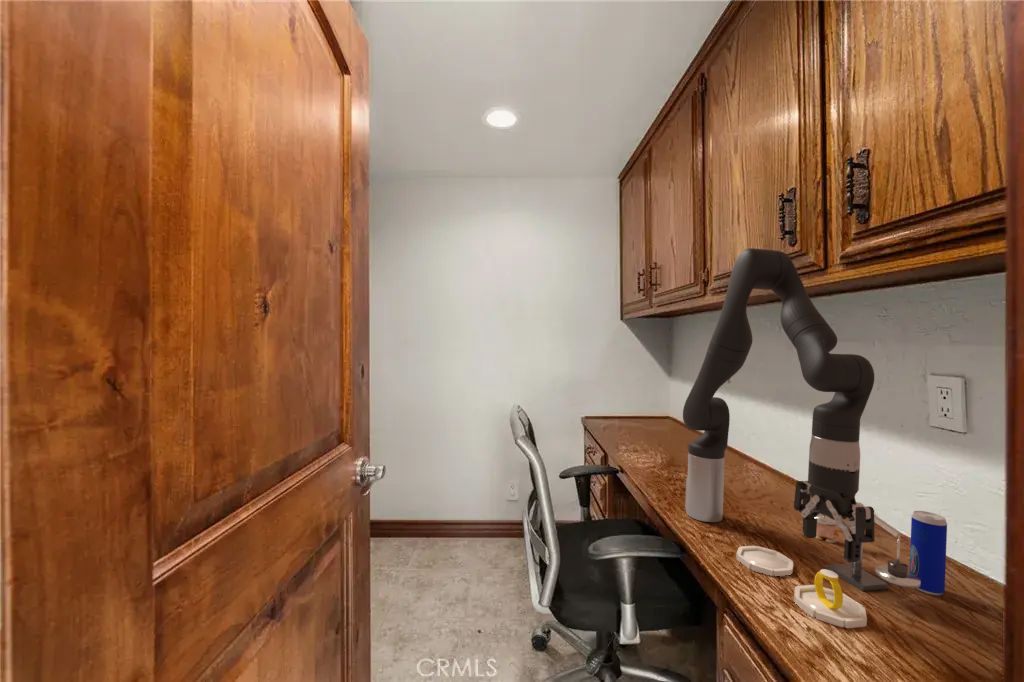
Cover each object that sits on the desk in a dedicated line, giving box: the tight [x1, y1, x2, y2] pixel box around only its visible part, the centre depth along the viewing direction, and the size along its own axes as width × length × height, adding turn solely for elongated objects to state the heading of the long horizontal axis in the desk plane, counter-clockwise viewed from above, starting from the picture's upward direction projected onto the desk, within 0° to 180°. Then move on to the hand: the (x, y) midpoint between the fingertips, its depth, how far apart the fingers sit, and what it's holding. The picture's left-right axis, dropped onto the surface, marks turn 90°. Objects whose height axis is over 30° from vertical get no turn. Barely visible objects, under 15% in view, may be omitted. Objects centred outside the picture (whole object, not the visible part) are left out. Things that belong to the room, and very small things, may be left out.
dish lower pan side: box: [793, 584, 868, 629], centre depth 79 cm, size 11×11×1 cm
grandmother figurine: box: [814, 523, 837, 544], centre depth 108 cm, size 8×4×13 cm, turn 56°
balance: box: [815, 501, 921, 592], centre depth 90 cm, size 22×6×18 cm, turn 10°
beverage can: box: [909, 510, 948, 597], centre depth 87 cm, size 5×5×15 cm
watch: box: [814, 568, 844, 609], centre depth 80 cm, size 6×3×6 cm, turn 176°
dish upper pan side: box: [735, 545, 794, 577], centre depth 95 cm, size 11×11×1 cm
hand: (829, 548), depth 80 cm, fingers open, 8 cm apart
